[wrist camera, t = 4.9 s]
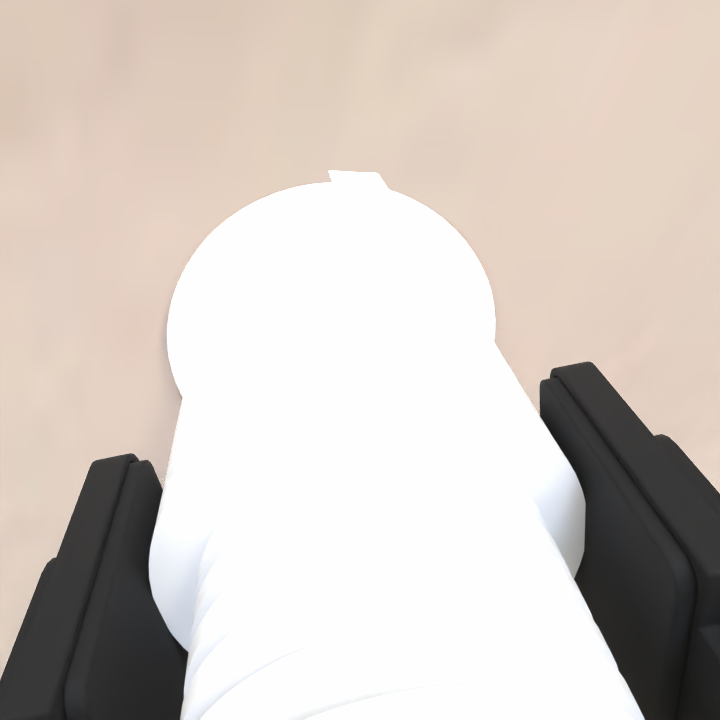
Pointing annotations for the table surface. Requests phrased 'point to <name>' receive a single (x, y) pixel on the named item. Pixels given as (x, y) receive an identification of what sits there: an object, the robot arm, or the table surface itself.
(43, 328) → the table surface
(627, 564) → the robot arm
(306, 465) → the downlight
